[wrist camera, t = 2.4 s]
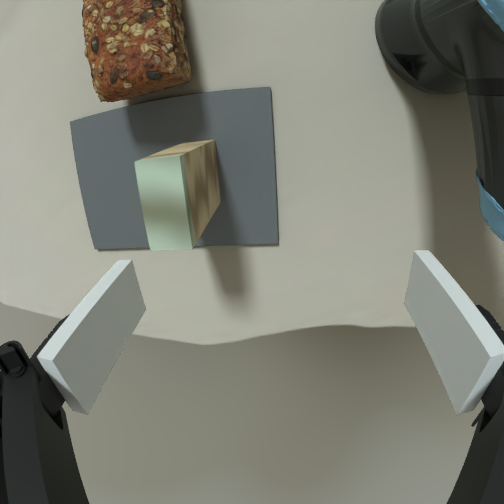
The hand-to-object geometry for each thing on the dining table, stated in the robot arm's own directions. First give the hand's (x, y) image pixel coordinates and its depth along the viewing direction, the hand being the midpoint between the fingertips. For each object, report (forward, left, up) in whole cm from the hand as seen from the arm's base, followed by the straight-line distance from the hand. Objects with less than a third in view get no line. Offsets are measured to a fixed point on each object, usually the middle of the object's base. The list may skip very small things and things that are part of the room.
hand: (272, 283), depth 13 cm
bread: (-20, -15, -27) cm, 37 cm away
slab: (0, -9, -26) cm, 27 cm away
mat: (0, -14, -26) cm, 30 cm away
